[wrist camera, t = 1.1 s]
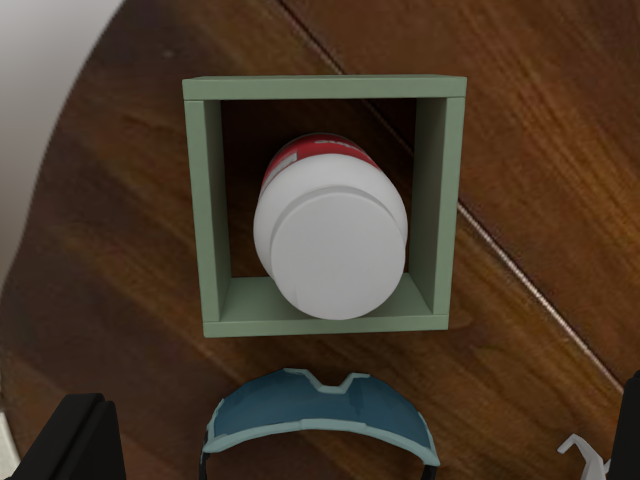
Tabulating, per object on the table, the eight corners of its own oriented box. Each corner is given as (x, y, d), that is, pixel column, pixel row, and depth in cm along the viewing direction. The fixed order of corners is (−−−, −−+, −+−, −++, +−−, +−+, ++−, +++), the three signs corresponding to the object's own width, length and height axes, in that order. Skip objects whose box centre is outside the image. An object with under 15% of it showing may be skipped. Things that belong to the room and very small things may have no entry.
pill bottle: (400, 184, 29) (464, 253, 18) (323, 263, 30) (342, 371, 20) (316, 104, 27) (333, 131, 17) (238, 191, 29) (209, 267, 18)
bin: (202, 76, 27) (181, 79, 21) (432, 74, 27) (467, 77, 22) (218, 290, 30) (203, 338, 25) (421, 284, 31) (448, 330, 26)
